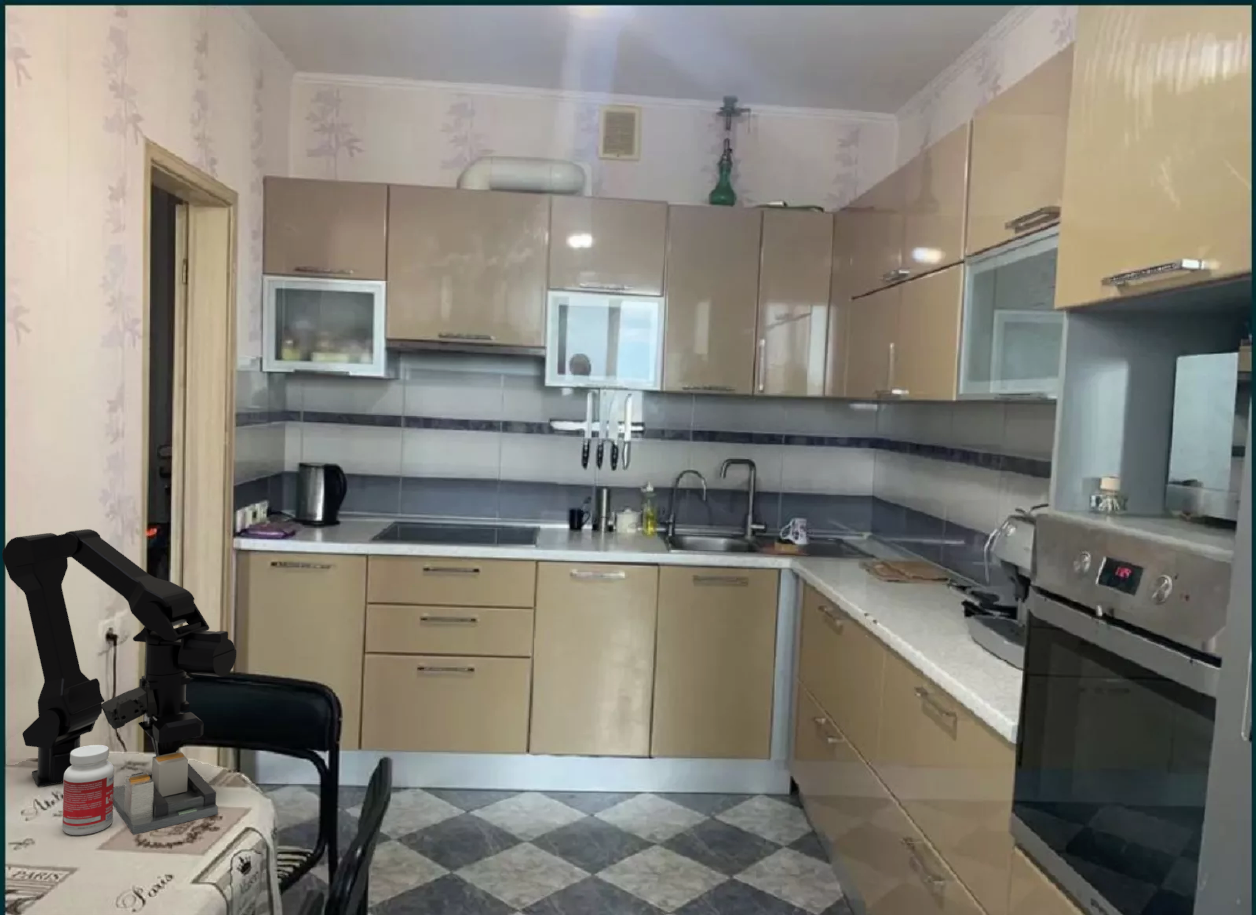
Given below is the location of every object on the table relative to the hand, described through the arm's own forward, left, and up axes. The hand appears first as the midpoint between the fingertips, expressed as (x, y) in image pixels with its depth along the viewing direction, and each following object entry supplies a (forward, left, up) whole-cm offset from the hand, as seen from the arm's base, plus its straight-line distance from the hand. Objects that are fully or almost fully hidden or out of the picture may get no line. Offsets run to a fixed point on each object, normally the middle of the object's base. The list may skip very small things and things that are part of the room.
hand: (163, 768), depth 139 cm
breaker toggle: (+4, 0, -2) cm, 4 cm away
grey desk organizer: (+6, -2, -3) cm, 7 cm away
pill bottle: (+7, -12, -4) cm, 14 cm away
